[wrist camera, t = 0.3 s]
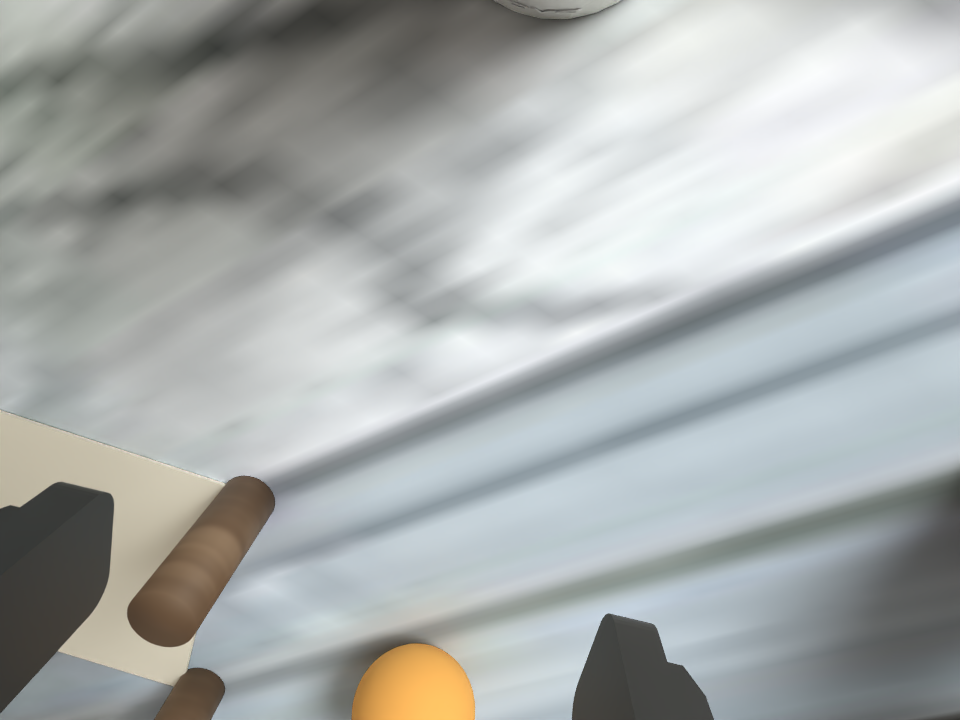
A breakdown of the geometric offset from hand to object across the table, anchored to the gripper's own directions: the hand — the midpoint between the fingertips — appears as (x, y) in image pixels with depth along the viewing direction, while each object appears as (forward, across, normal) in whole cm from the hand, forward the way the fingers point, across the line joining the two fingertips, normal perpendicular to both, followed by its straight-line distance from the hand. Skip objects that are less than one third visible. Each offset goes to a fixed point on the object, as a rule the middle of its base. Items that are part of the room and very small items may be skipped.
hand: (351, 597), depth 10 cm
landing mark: (+19, +16, +17) cm, 30 cm away
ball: (+16, -3, +19) cm, 25 cm away
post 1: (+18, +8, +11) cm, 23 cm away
